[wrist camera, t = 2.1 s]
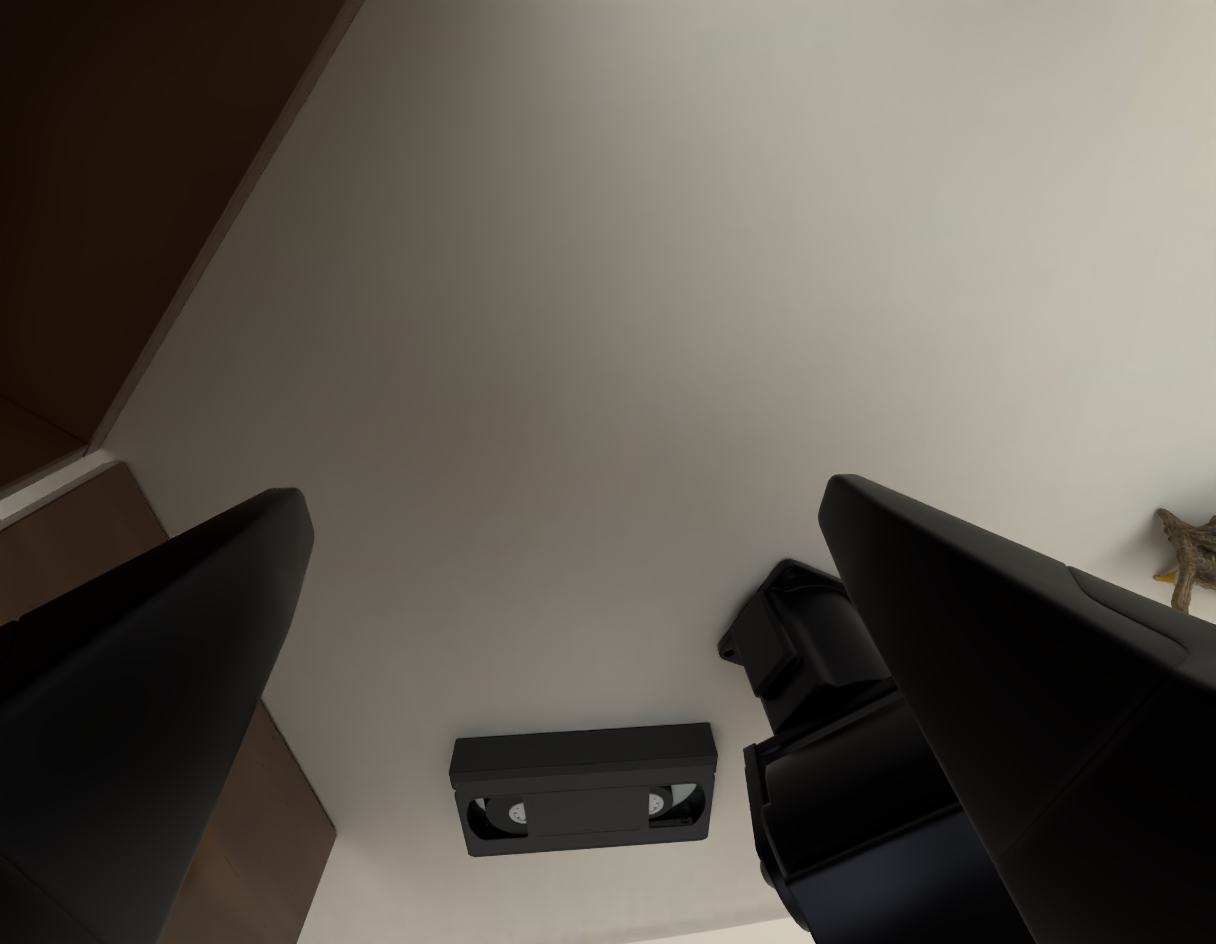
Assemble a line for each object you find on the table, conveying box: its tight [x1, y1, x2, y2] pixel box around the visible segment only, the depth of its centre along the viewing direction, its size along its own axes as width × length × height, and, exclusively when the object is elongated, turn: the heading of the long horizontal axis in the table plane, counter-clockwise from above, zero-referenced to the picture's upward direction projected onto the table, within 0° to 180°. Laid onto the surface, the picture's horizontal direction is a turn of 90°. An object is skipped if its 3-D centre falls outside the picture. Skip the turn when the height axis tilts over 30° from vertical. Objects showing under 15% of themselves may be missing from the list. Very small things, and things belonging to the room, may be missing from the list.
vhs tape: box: [449, 723, 718, 857], centre depth 31 cm, size 14×8×2 cm, turn 91°
